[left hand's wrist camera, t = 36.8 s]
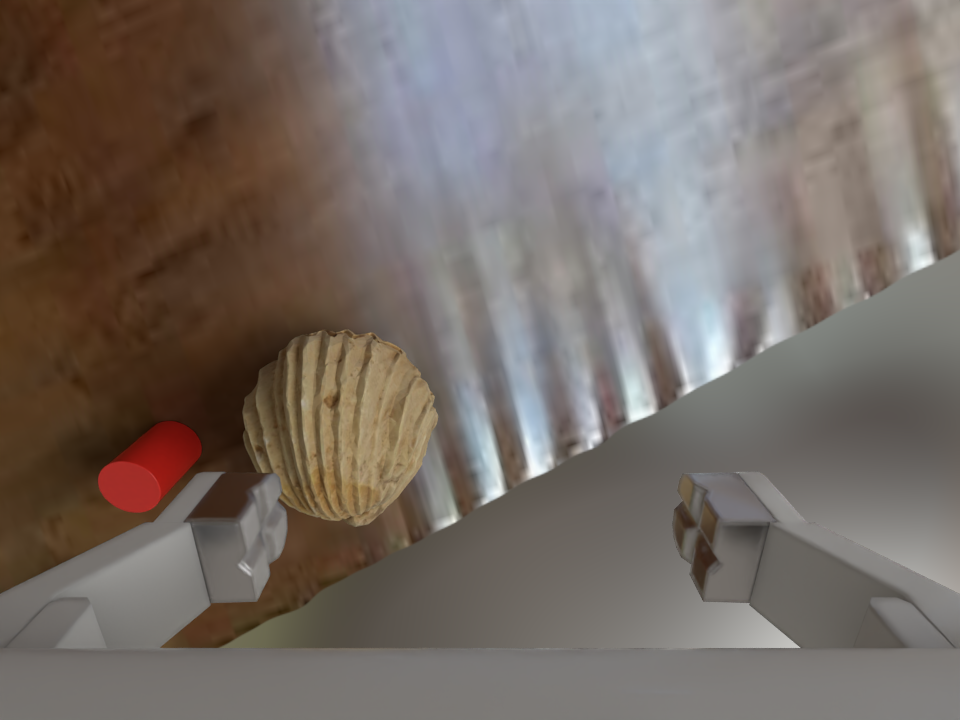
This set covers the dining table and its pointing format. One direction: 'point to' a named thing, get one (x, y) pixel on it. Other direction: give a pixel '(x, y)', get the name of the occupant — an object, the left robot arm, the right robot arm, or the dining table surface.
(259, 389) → the fossil
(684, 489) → the left robot arm
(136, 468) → the can
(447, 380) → the dining table surface
